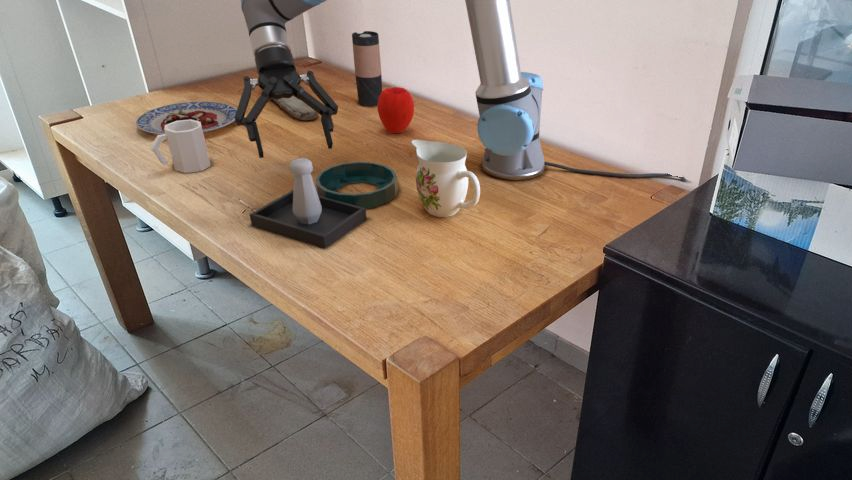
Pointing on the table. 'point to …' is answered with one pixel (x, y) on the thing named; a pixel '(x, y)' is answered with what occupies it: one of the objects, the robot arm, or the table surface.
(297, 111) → the elongated rock
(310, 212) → the salt shaker
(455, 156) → the pitcher
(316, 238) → the tray
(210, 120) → the ceramic plate
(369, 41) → the travel mug
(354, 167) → the teal ring
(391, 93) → the red vase
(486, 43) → the robot arm
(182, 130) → the mug
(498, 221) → the table surface
